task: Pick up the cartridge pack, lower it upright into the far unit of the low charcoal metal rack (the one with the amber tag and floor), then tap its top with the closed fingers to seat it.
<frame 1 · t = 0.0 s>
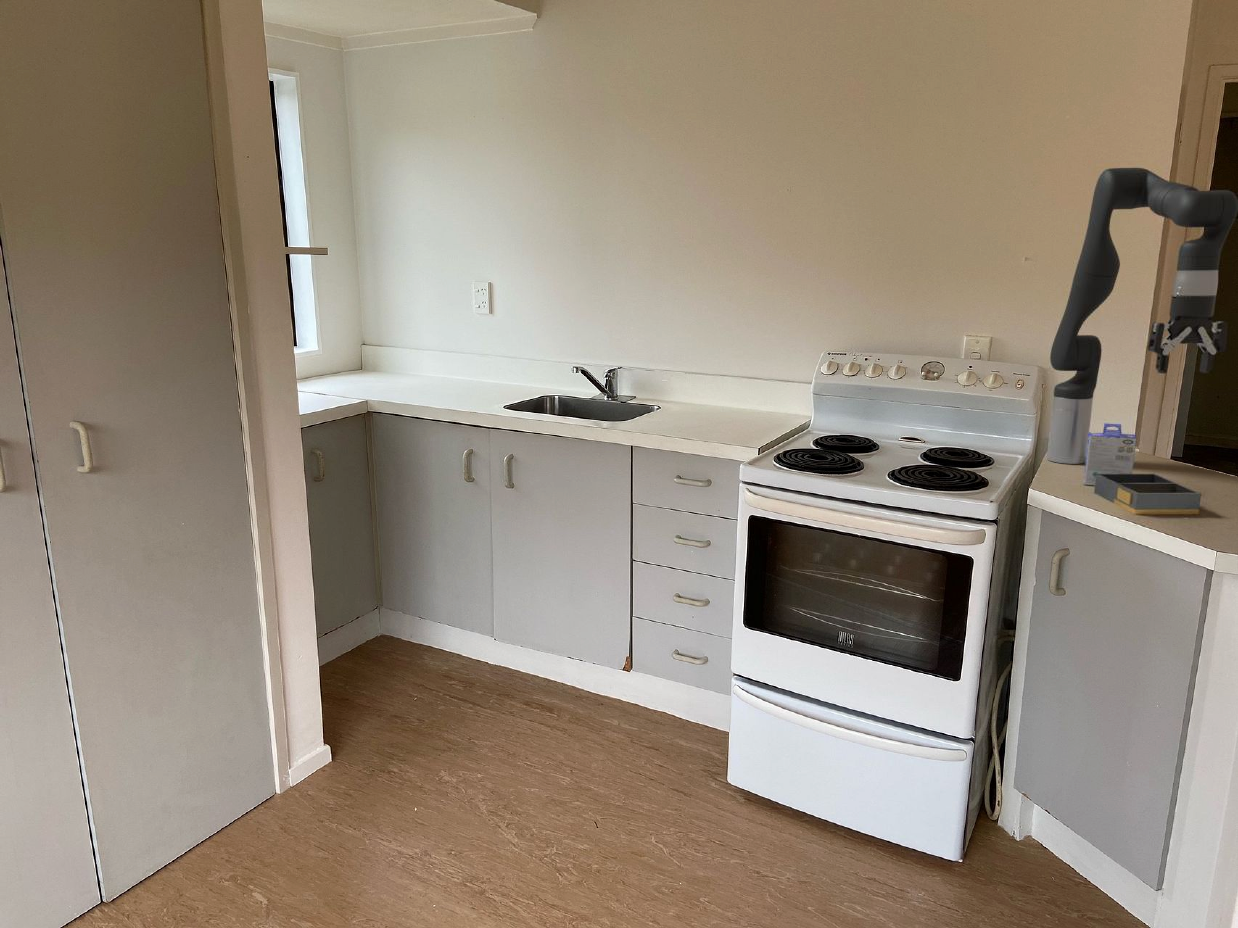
hand: (1183, 372, 175), 29 cm above the worktop, tool pointing down, fingers open, 8 cm apart
rack: (1143, 502, 186), on the worktop
ink cartridge box: (1106, 485, 202), on the worktop
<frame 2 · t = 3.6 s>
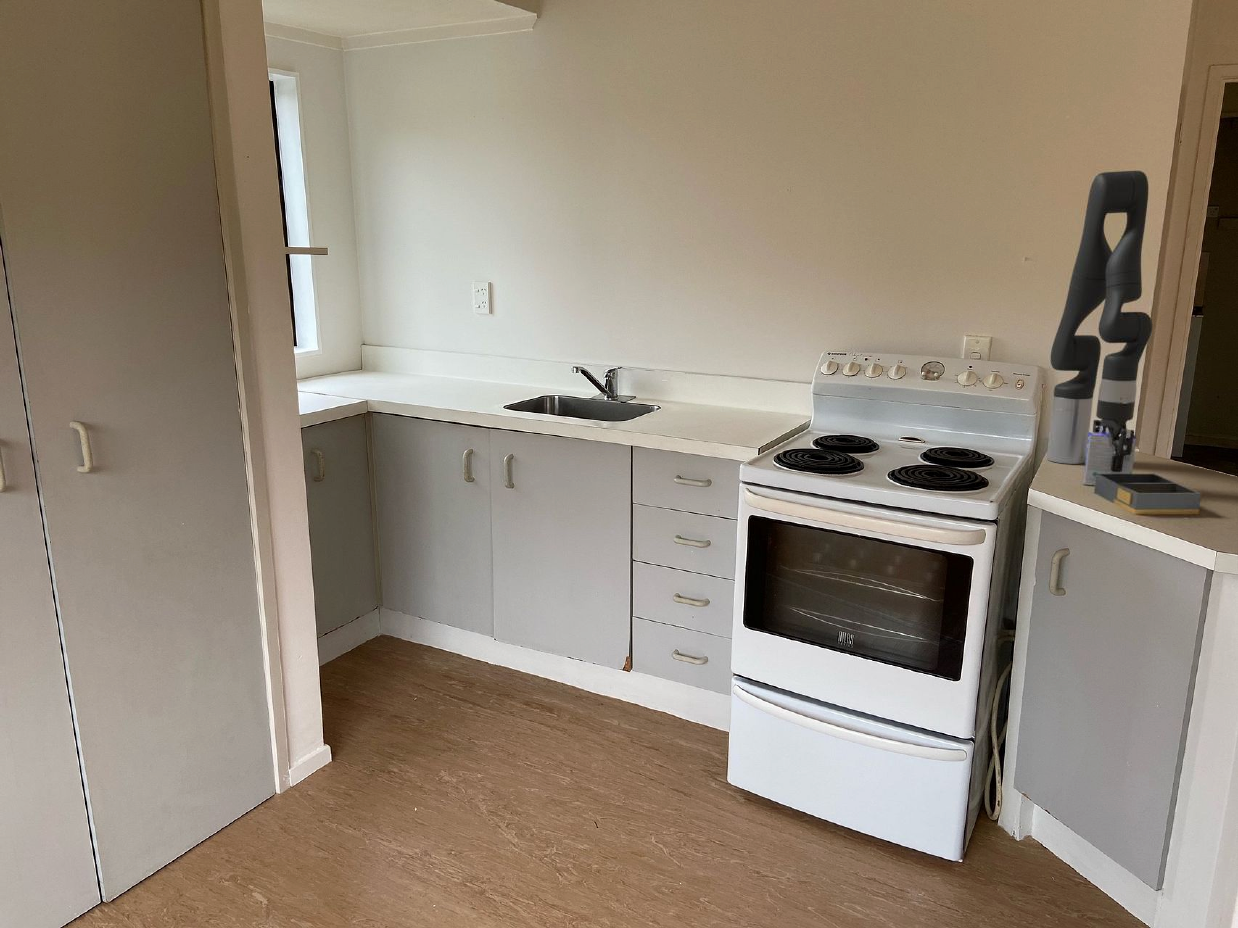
hand: (1108, 467, 201), 4 cm above the worktop, tool pointing down, fingers closed on ink cartridge box, 6 cm apart
ink cartridge box: (1106, 485, 202), on the worktop, touching gripper
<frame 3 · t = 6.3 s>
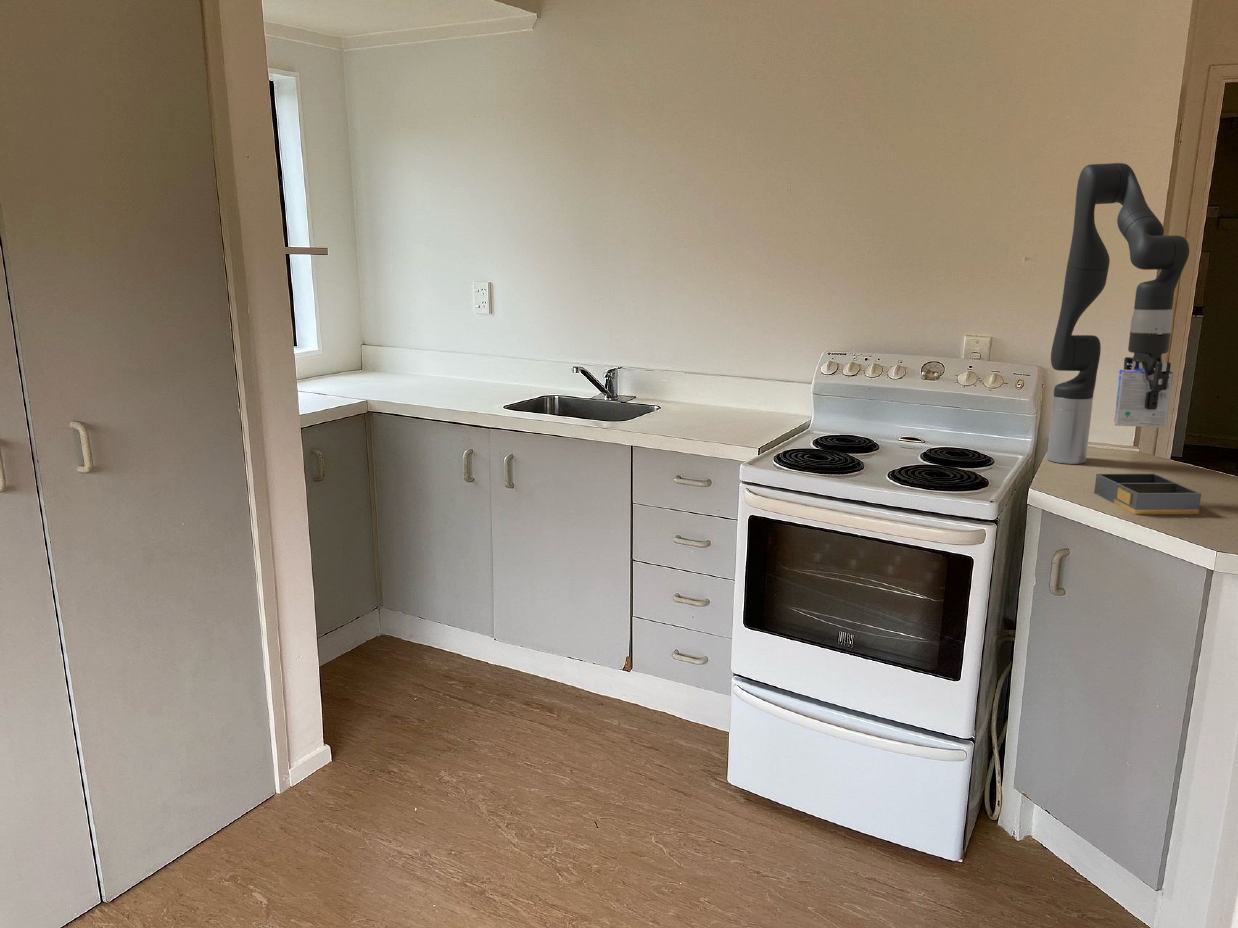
hand: (1141, 406, 186), 21 cm above the worktop, tool pointing down, fingers closed on ink cartridge box, 6 cm apart
ink cartridge box: (1139, 426, 187), point 16 cm above the worktop, touching gripper
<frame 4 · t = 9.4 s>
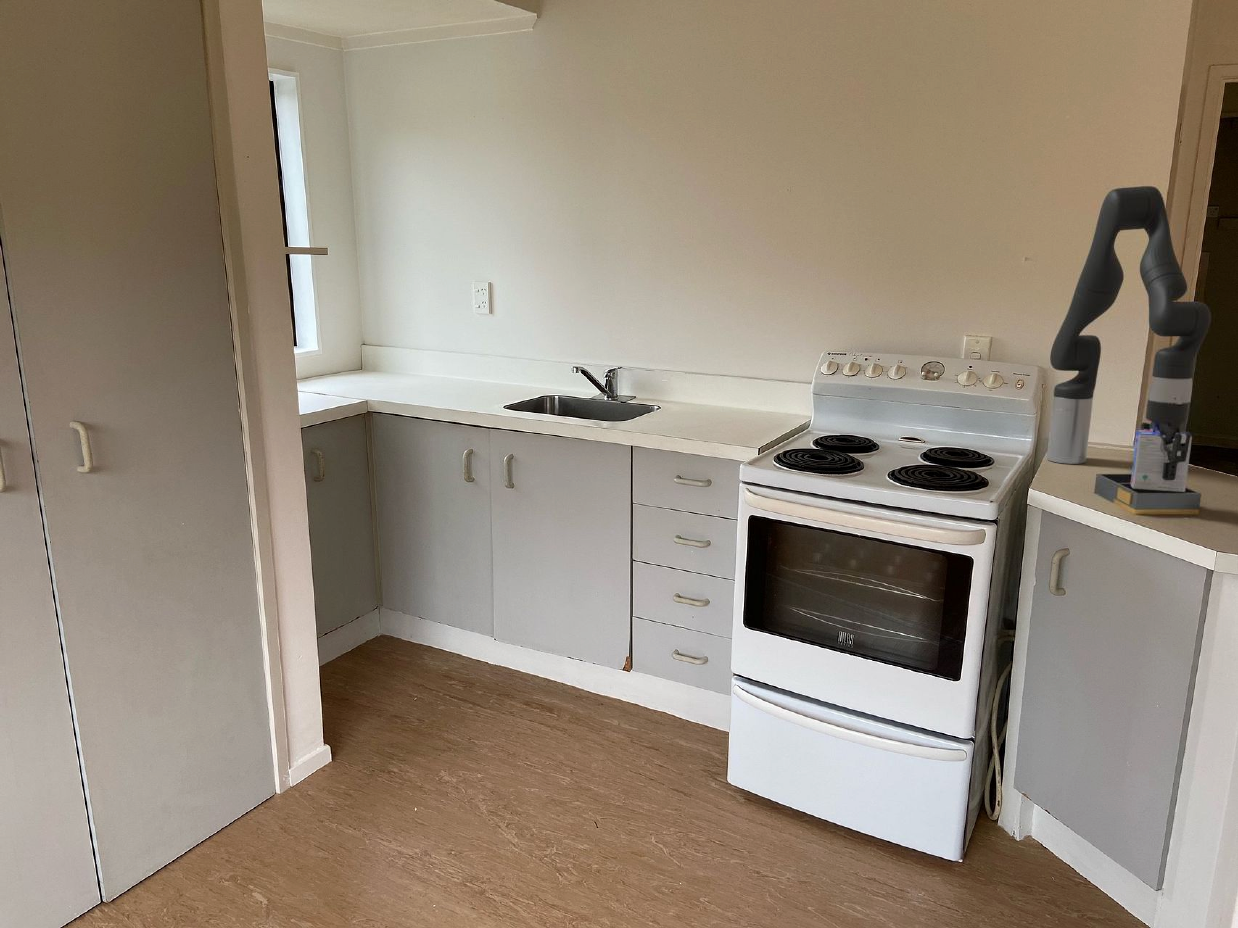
hand: (1158, 475, 180), 7 cm above the worktop, tool pointing down, fingers closed on ink cartridge box, 6 cm apart
ink cartridge box: (1157, 488, 181), point 4 cm above the worktop, touching gripper, rack
when the fingers open (7 cm above the worktop, at t = 10.1 s): ink cartridge box stays where it is, resting on rack.
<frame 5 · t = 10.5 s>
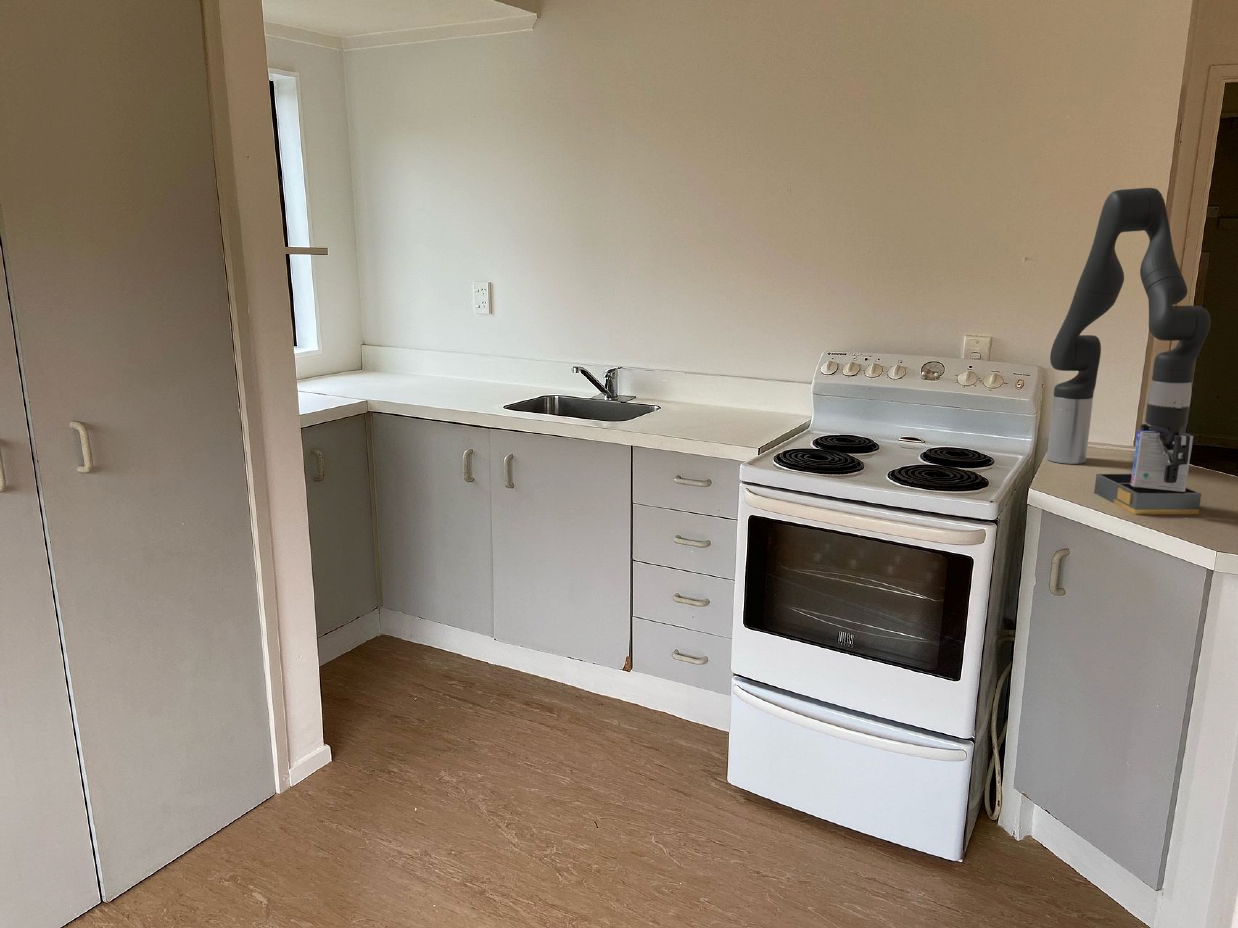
hand: (1158, 477, 180), 7 cm above the worktop, tool pointing down, fingers open, 8 cm apart
ink cartridge box: (1156, 489, 181), point 4 cm above the worktop, touching gripper, rack
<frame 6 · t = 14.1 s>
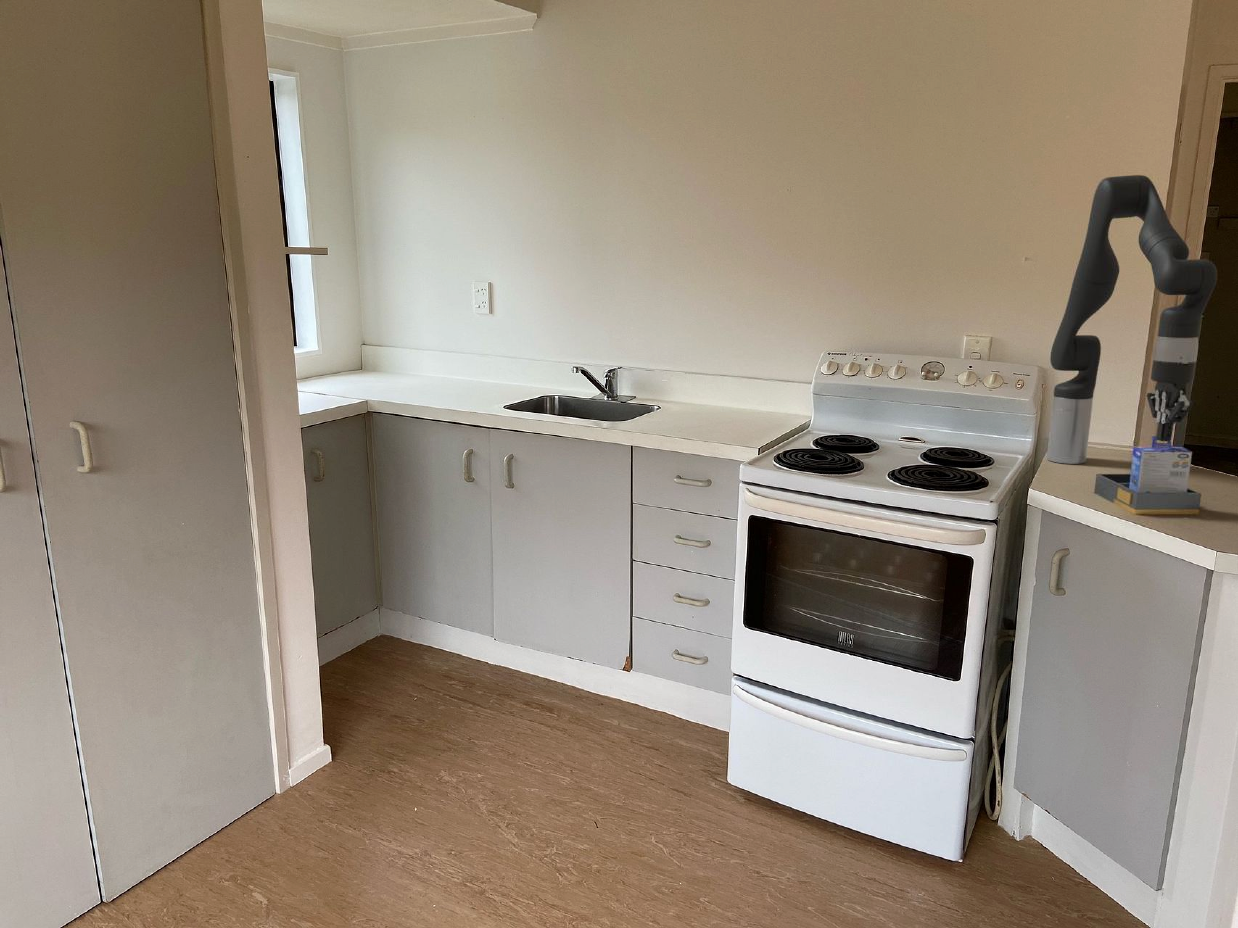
hand: (1163, 440, 178), 15 cm above the worktop, tool pointing down, fingers closed
ink cartridge box: (1155, 504, 182), point 1 cm above the worktop, touching rack
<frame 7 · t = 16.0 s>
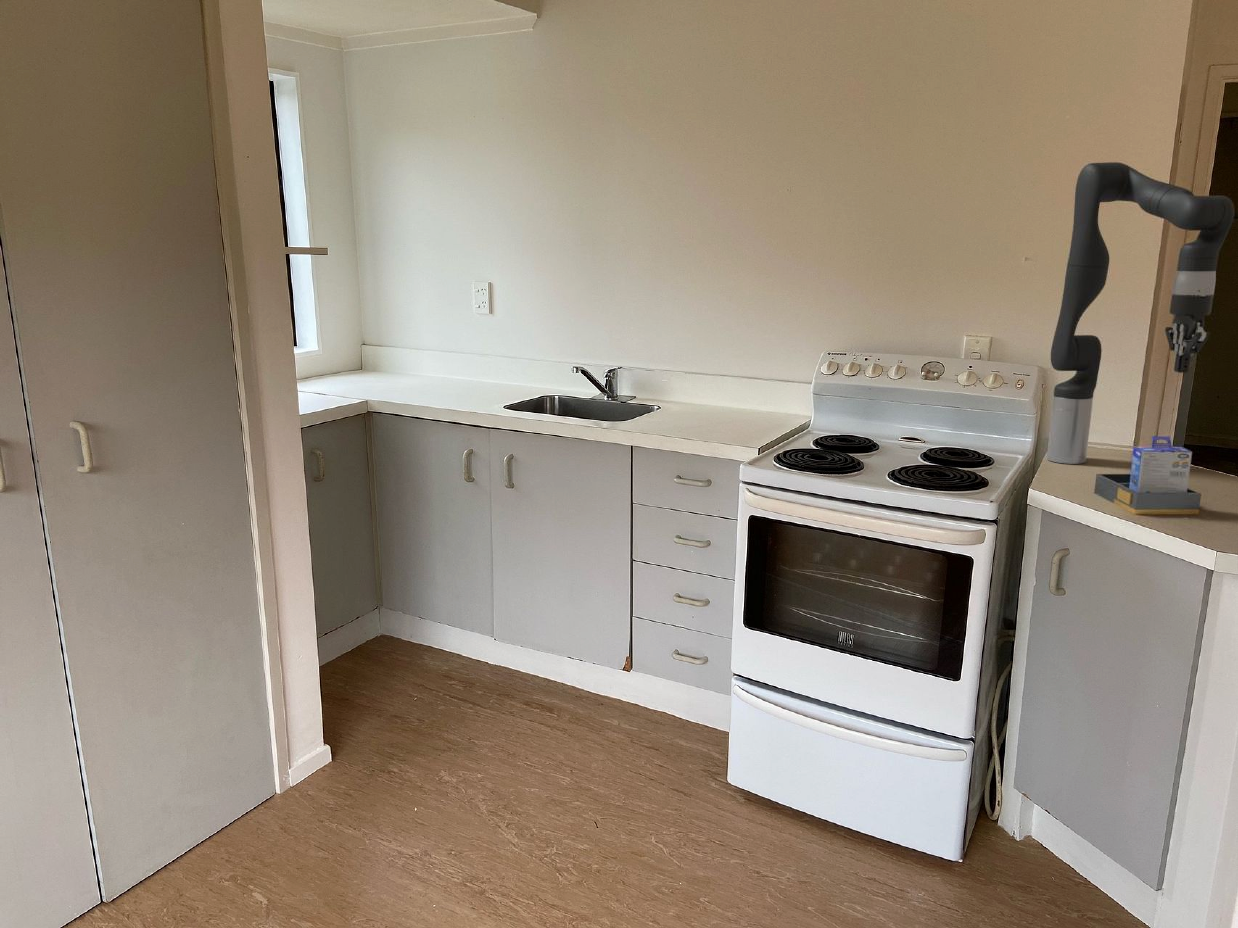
hand: (1180, 372, 187), 28 cm above the worktop, tool pointing down, fingers closed
nothing on the worktop moved.
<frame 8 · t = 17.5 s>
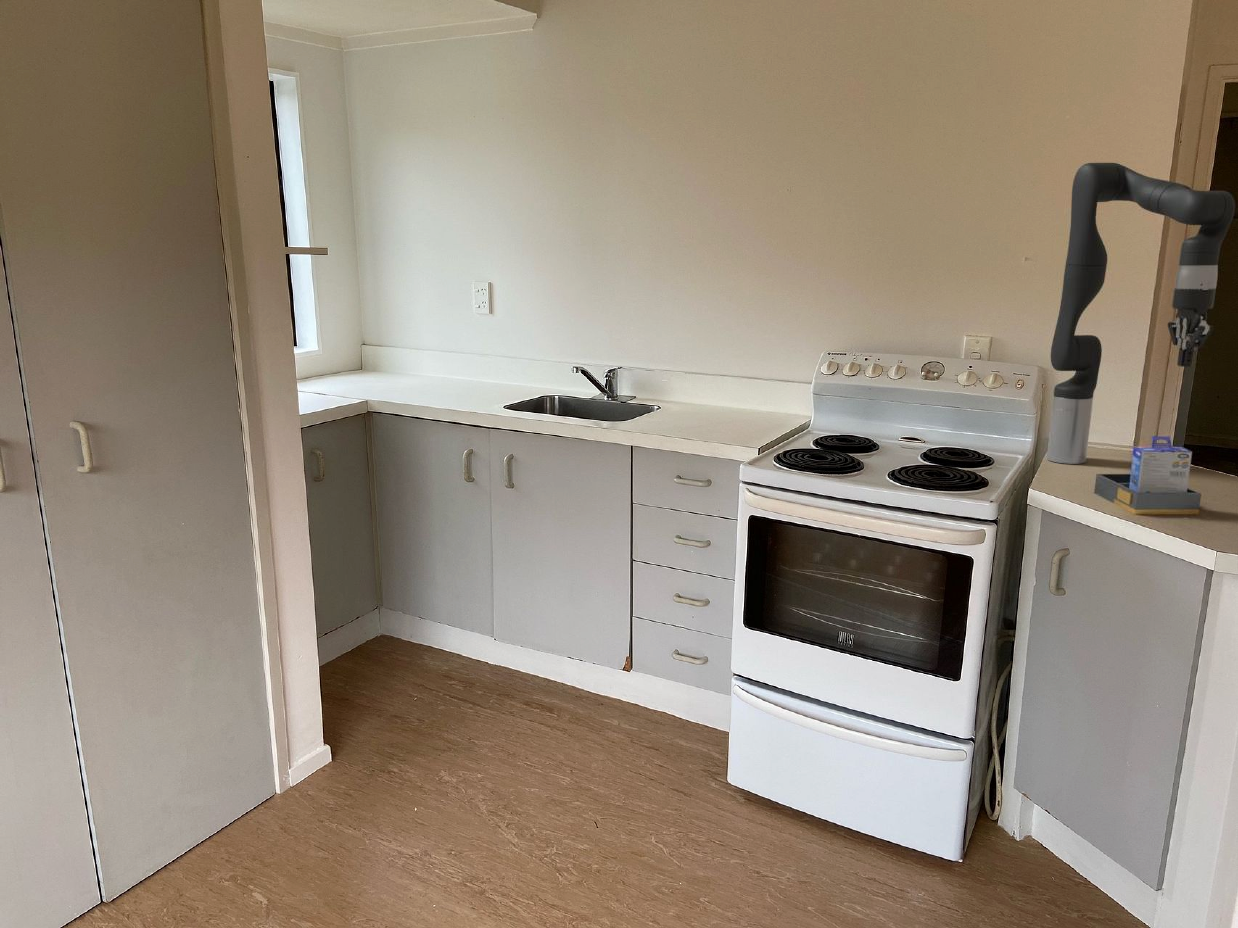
hand: (1184, 366, 187), 29 cm above the worktop, tool pointing down, fingers closed
nothing on the worktop moved.
at the end: ink cartridge box 0.2 cm from the target spot on the rack, point 0.8 cm above the rack's base; ink cartridge box tilted 0°; the gripper is holding nothing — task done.
